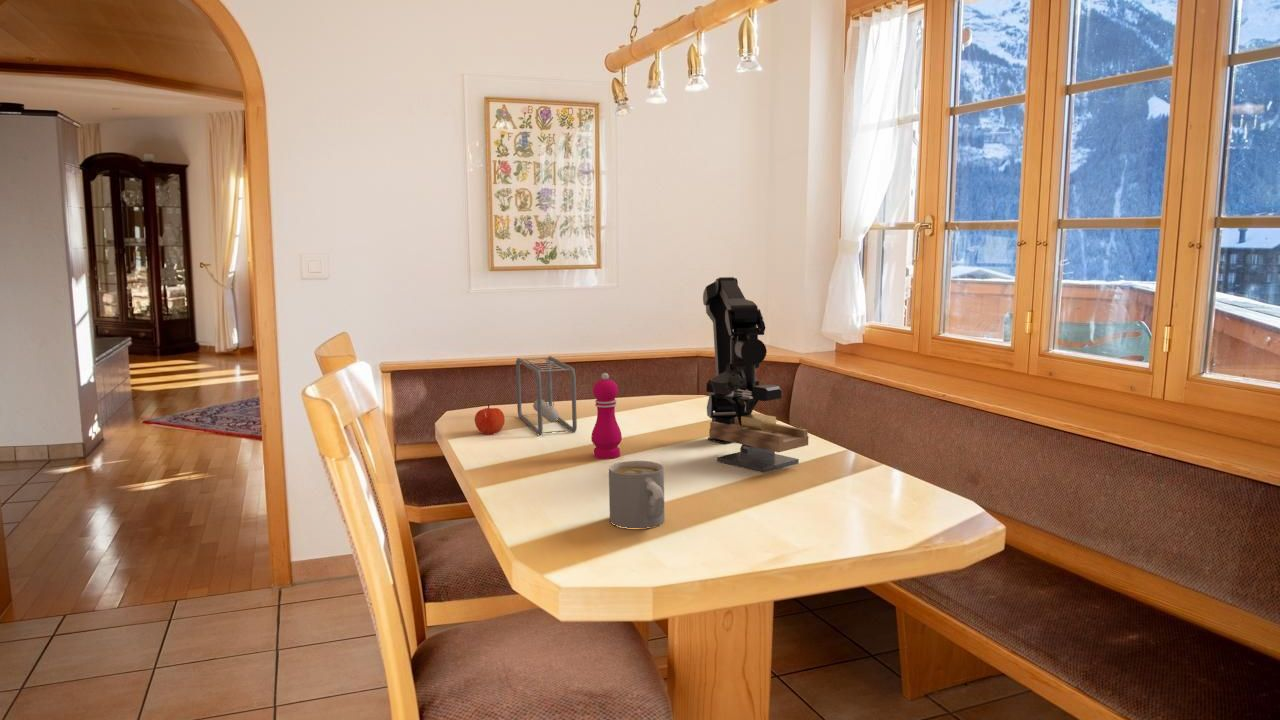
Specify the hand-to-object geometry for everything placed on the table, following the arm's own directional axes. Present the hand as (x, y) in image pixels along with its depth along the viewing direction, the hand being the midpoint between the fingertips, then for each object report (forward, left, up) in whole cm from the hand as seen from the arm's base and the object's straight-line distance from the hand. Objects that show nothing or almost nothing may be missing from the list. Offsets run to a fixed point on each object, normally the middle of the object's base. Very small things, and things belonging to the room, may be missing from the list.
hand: (742, 425), depth 200 cm
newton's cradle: (-65, -11, -8) cm, 67 cm away
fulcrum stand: (+5, 0, -8) cm, 9 cm away
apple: (-66, -28, -8) cm, 73 cm away
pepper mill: (-24, -21, -8) cm, 33 cm away
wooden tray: (+5, 0, -3) cm, 5 cm away
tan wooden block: (+5, 0, -1) cm, 5 cm away
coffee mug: (+20, -48, -8) cm, 52 cm away
